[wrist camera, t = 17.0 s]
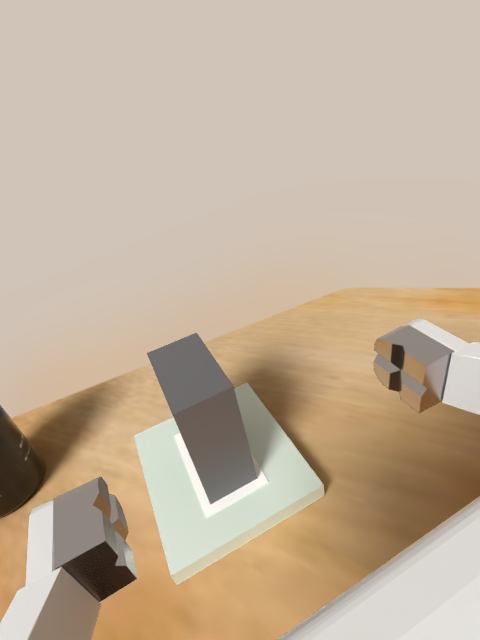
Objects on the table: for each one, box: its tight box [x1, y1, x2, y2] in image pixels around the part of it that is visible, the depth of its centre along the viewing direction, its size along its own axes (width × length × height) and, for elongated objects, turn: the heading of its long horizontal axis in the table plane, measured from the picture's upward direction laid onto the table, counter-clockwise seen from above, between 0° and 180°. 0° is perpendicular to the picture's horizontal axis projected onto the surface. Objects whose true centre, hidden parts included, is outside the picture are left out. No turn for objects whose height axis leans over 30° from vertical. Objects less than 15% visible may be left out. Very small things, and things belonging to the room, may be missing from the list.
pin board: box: [134, 382, 325, 585], centre depth 30 cm, size 12×13×4 cm
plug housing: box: [147, 333, 257, 505], centre depth 27 cm, size 4×7×10 cm, turn 26°
